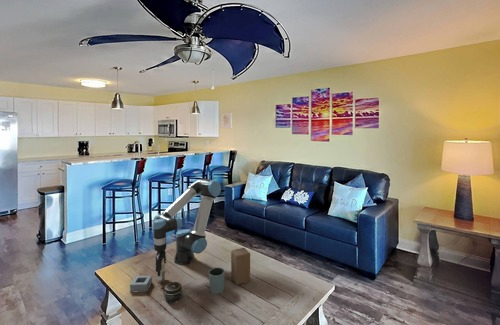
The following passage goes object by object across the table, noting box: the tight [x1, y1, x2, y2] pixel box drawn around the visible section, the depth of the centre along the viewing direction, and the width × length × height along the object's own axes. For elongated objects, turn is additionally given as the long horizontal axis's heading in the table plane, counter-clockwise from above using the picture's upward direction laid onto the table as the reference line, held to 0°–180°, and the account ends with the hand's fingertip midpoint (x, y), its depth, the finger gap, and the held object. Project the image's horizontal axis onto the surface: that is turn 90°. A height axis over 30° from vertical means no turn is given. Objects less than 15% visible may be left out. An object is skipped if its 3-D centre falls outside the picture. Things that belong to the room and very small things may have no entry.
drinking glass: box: [208, 267, 226, 294], centre depth 168 cm, size 10×10×12 cm
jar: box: [163, 281, 183, 303], centre depth 159 cm, size 10×10×8 cm
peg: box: [157, 258, 166, 284], centre depth 176 cm, size 4×4×16 cm
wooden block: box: [230, 247, 251, 285], centre depth 178 cm, size 10×10×20 cm
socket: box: [129, 275, 153, 293], centre depth 170 cm, size 10×10×5 cm
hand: (161, 276), depth 176 cm, fingers open, 8 cm apart
